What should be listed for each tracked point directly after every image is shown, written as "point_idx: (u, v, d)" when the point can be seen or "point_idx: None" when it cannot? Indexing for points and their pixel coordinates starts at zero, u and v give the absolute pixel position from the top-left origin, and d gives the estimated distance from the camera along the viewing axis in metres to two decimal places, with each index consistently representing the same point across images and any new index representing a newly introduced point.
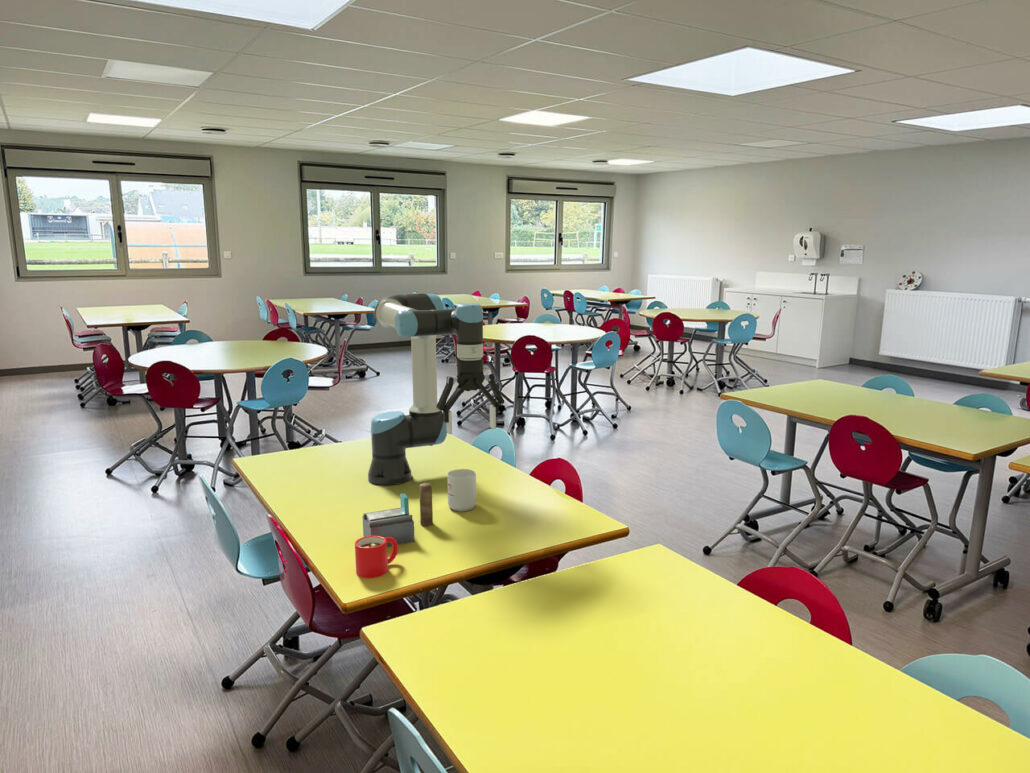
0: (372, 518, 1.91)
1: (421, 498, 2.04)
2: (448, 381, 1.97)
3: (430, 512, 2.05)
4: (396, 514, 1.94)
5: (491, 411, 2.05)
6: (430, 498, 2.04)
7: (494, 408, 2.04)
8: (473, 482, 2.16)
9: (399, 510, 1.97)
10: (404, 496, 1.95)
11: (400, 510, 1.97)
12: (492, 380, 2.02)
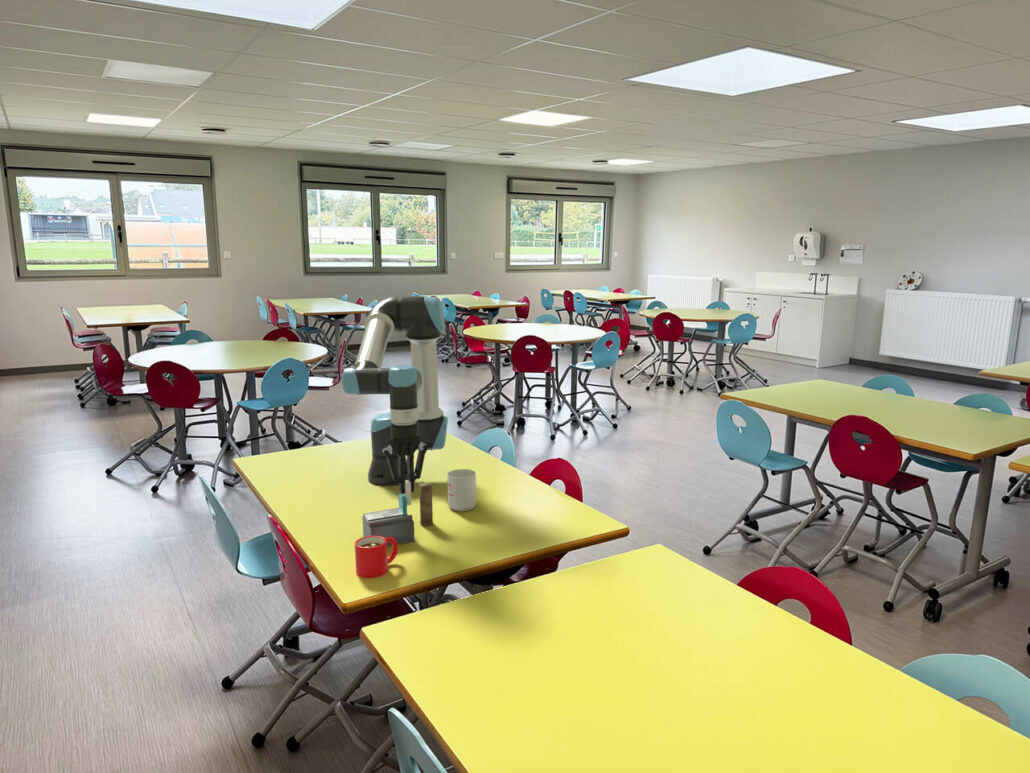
0: (370, 518, 1.91)
1: (421, 498, 2.04)
2: (385, 454, 1.91)
3: (430, 512, 2.05)
4: (394, 514, 1.93)
5: None
6: (430, 498, 2.04)
7: (409, 484, 1.94)
8: (473, 482, 2.16)
9: (397, 510, 1.96)
10: (402, 496, 1.95)
11: (398, 510, 1.96)
12: (424, 451, 1.95)
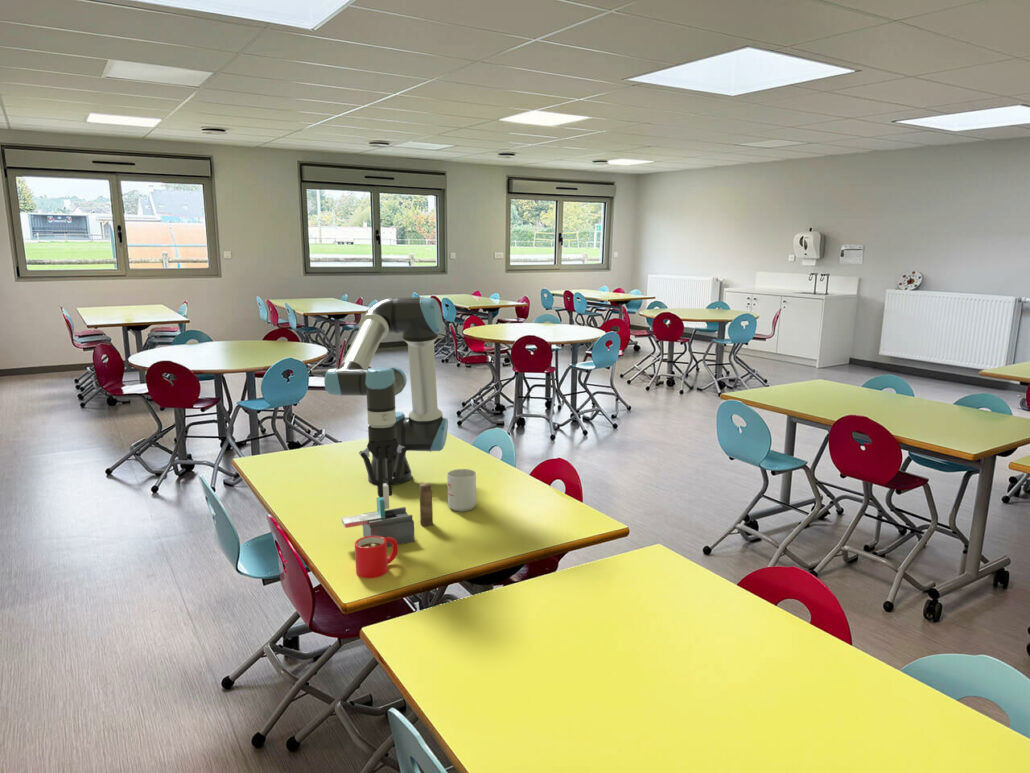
0: (347, 522, 1.88)
1: (421, 498, 2.04)
2: (362, 457, 1.88)
3: (430, 512, 2.05)
4: (372, 518, 1.91)
5: None
6: (430, 498, 2.04)
7: (387, 487, 1.92)
8: (473, 482, 2.16)
9: (375, 514, 1.94)
10: (380, 500, 1.92)
11: (376, 514, 1.94)
12: (402, 454, 1.92)
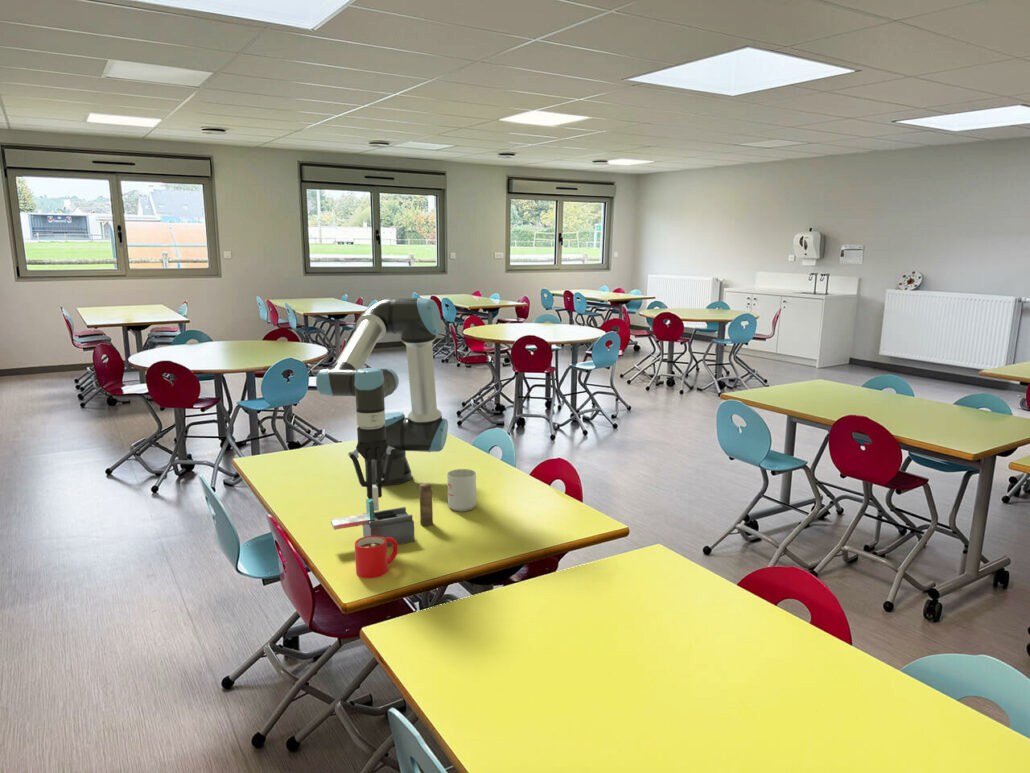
0: (336, 524, 1.87)
1: (421, 498, 2.04)
2: None
3: (430, 512, 2.05)
4: (361, 520, 1.90)
5: None
6: (430, 498, 2.04)
7: (376, 489, 1.90)
8: (473, 482, 2.16)
9: (365, 515, 1.93)
10: (370, 501, 1.91)
11: (366, 515, 1.93)
12: (391, 455, 1.91)
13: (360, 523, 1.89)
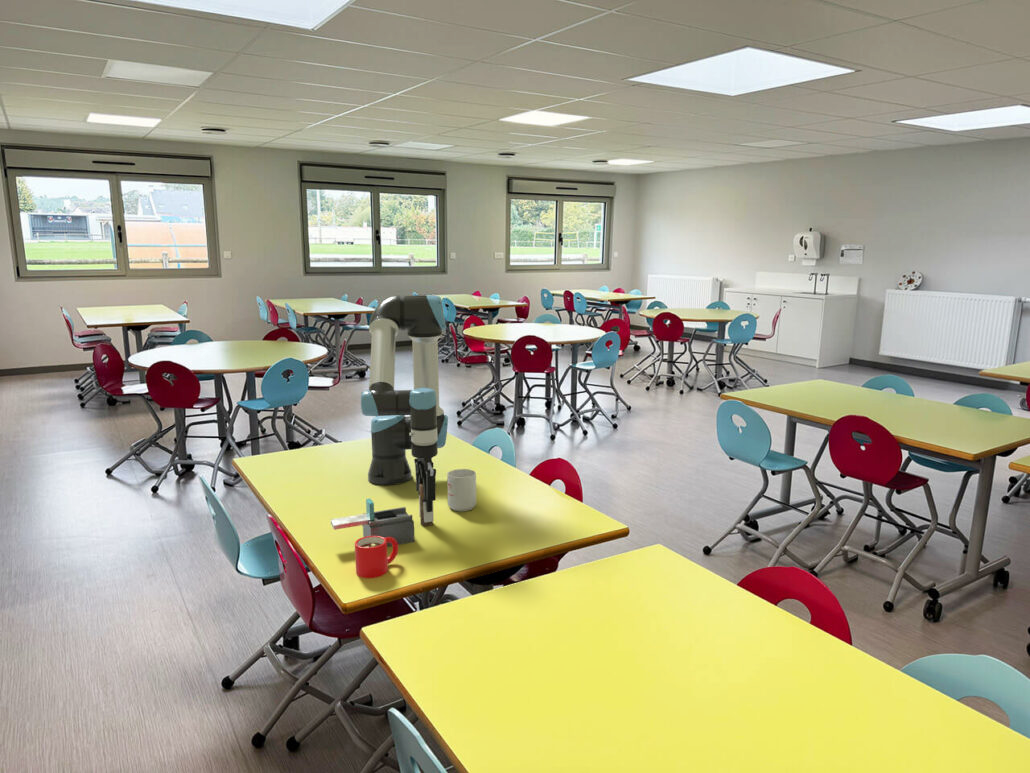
0: (336, 524, 1.87)
1: (421, 498, 2.04)
2: None
3: None
4: (361, 520, 1.90)
5: None
6: None
7: (423, 502, 2.03)
8: (473, 482, 2.16)
9: (365, 515, 1.93)
10: (370, 501, 1.91)
11: (366, 515, 1.93)
12: (426, 475, 1.98)
13: (360, 523, 1.89)
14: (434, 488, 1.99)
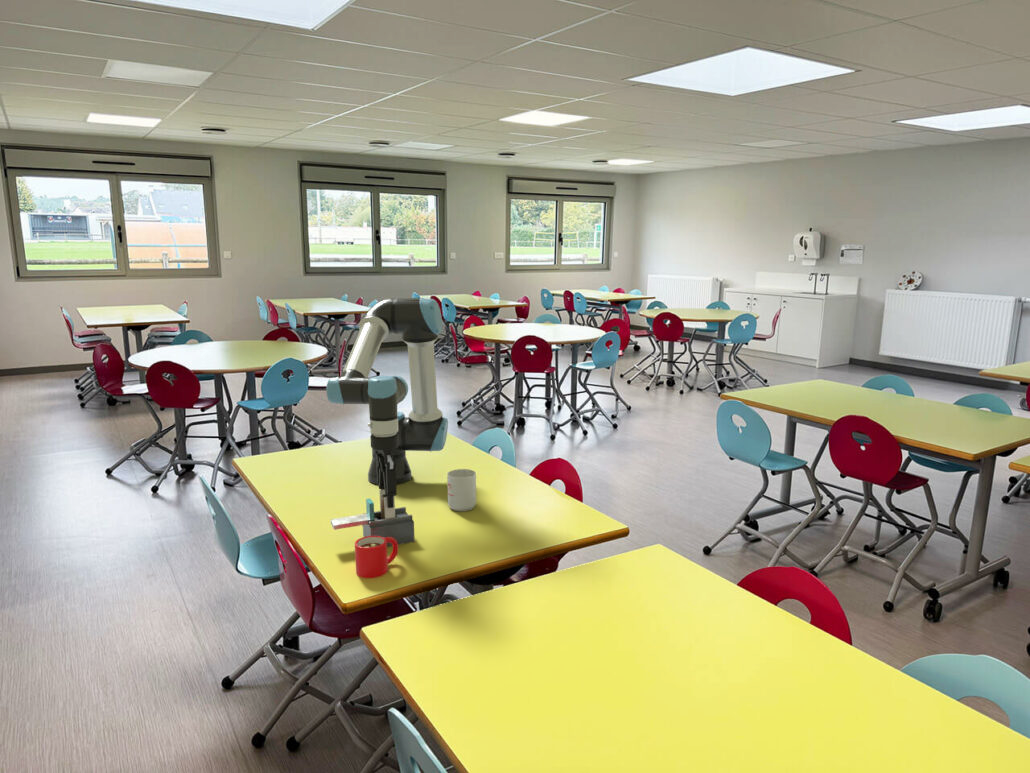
0: (336, 524, 1.87)
1: (382, 512, 1.93)
2: None
3: None
4: (361, 520, 1.90)
5: None
6: None
7: (384, 497, 1.90)
8: (473, 482, 2.16)
9: (365, 515, 1.93)
10: (370, 501, 1.91)
11: (366, 515, 1.93)
12: (386, 468, 1.86)
13: (360, 523, 1.89)
14: (395, 482, 1.87)
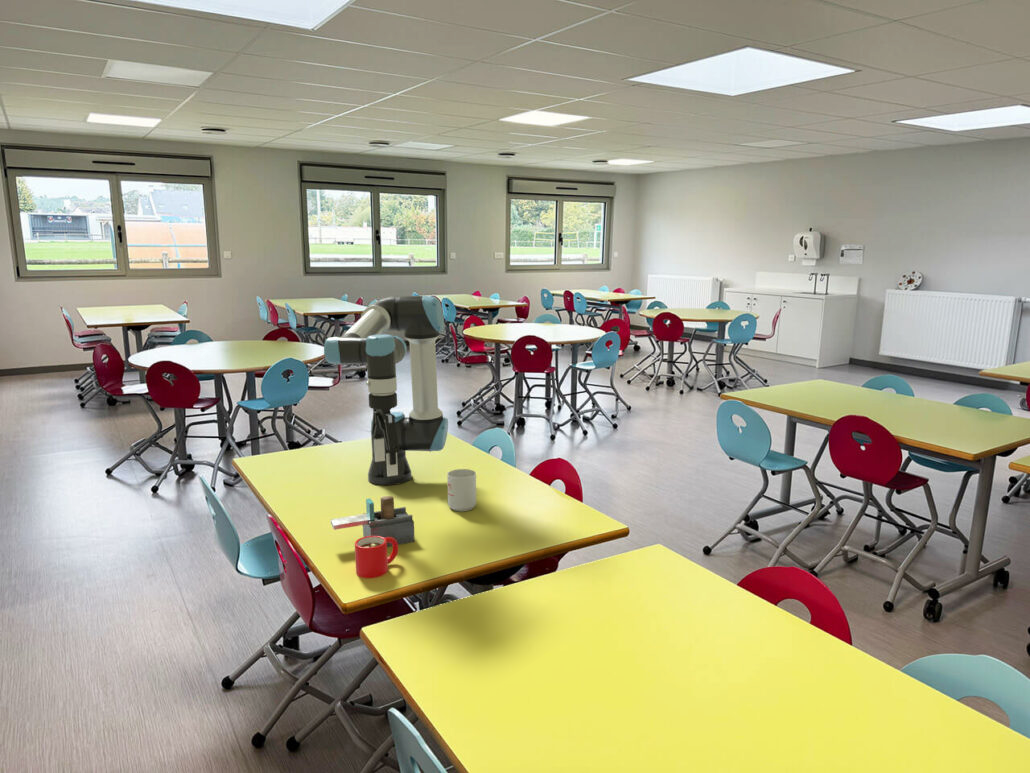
0: (336, 524, 1.87)
1: (382, 512, 1.93)
2: None
3: None
4: (361, 520, 1.90)
5: None
6: (392, 512, 1.93)
7: (386, 453, 1.84)
8: (473, 482, 2.16)
9: (365, 515, 1.93)
10: (370, 501, 1.91)
11: (366, 515, 1.93)
12: (385, 422, 1.83)
13: (360, 523, 1.89)
14: (395, 436, 1.83)
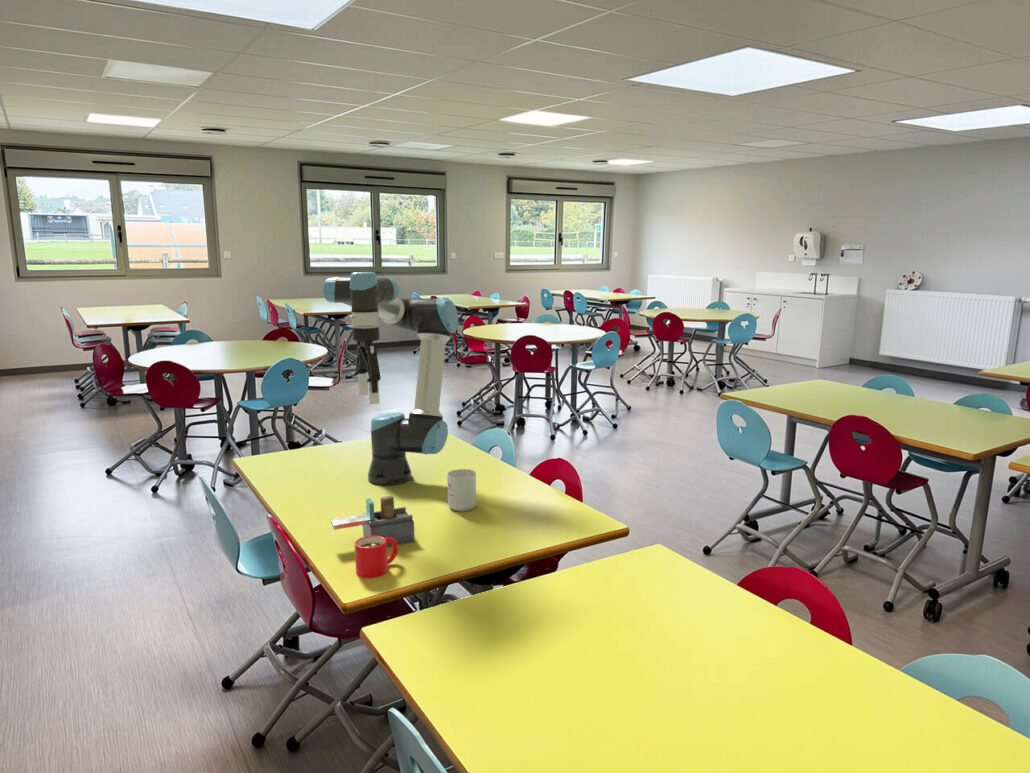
0: (336, 524, 1.87)
1: (382, 512, 1.93)
2: None
3: None
4: (361, 520, 1.90)
5: None
6: (392, 512, 1.93)
7: (368, 382, 1.96)
8: (473, 482, 2.16)
9: (365, 515, 1.93)
10: (370, 501, 1.91)
11: (366, 515, 1.93)
12: (367, 353, 1.95)
13: (360, 523, 1.89)
14: (377, 365, 1.95)
